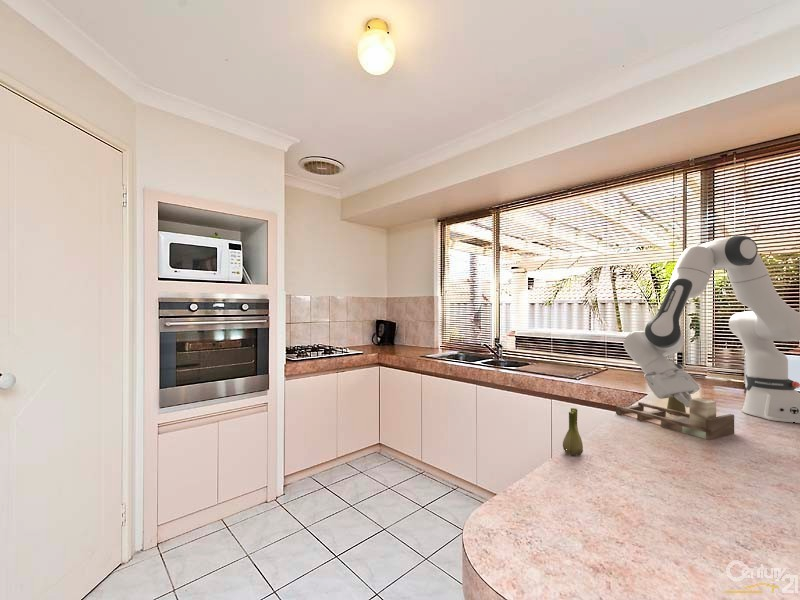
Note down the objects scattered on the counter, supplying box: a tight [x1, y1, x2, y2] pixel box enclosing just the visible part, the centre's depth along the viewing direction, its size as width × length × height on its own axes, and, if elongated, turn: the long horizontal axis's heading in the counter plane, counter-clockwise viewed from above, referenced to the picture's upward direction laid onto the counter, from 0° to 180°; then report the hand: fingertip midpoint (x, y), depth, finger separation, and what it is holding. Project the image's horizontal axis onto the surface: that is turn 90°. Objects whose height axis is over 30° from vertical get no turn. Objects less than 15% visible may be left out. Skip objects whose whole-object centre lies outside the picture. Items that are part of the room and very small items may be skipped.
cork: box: [666, 397, 687, 416], centre depth 144 cm, size 6×6×11 cm
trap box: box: [615, 402, 735, 441], centre depth 131 cm, size 30×14×6 cm, turn 25°
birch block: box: [688, 397, 717, 428], centre depth 122 cm, size 5×5×8 cm
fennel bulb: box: [562, 407, 584, 456], centre depth 102 cm, size 6×5×12 cm
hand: (691, 406), depth 125 cm, fingers closed, pressing on birch block
